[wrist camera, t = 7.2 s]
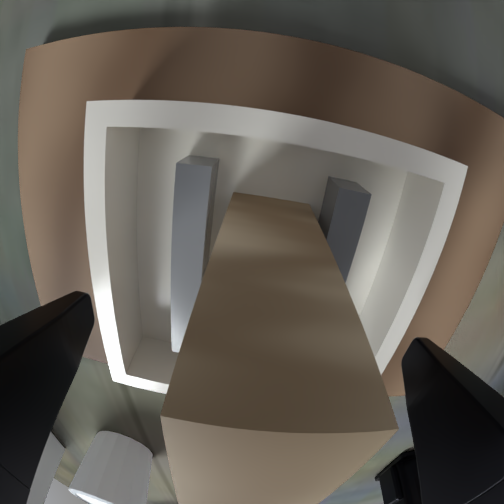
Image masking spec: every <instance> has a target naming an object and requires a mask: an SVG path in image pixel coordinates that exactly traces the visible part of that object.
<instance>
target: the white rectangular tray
mask: <svg viewBox="0 0 504 504" xmlns="http://www.w3.org/2000/svg"><path fill="white" fill-rule="evenodd" d="M467 169H468V166H466V165H464V164H461V163H459V162H457V161H454V160H452V159H449V158H446V157H444V156H441V155H439V154H436V153H433V152H430V151H428V150H425V149H422V148H419V147H416V146H413V145H410V144H407V143H404V142H401V141H398V140H395V139H391V138H388V137H385V136H381V135H378V134H375V133H371V132H367V131H364V130H360V129H356V128H352V127H348V126H344V125H340V124H336V123H332V122H327V121H323V120H318V119H313V118H308V117H303V116H298V115H293V114H287V113H282V112H276V111H269V110H263V109H256V108H249V107H241V106H232V105H223V104H213V103H201V102H187V101H168V100H102V101H87V103H86V116H85V133H84V204H85V221H86V234H87V245H88V255H89V263H90V271H91V278H92V285H93V292H94V298H95V304H96V309H97V315H98V320H99V325H100V330H101V335H102V339H103V344H104V348H105V352H106V356H107V360H108V364H109V368H110V372H111V376H112V379H113V381H115V382H119V383H122V384H126V385H130V386H134V387H138V388H142V389H146V390H150V391H155V392H159V393H164V394H167V390H168V387H169V384H170V380H171V377H172V374H173V370H174V367H175V364H176V360H177V357H178V354H179V351H180V347H181V344H182V341H183V338H184V335H185V332H186V328H187V325H188V322H189V319H190V316H191V313H192V310H193V307H194V304H195V301H196V298H197V295H198V292H199V289H200V286H201V283H202V280H203V277H204V274H205V271H206V268H207V265H208V262H209V259H210V256H211V253H212V250H213V247H214V245H215V242H216V239H217V236H218V233H219V230H220V228H221V225H222V222H223V219H224V216H225V214H226V211H227V208H228V205H229V203H230V200H231V197H232V194H233V192H238V193H245V194H251V195H258V196H264V197H271V198H277V199H283V200H289V201H295V202H301V203H307V204H310V206H311V209H312V211H313V213H314V215H315V217H316V219H317V221H318V223H319V225H320V228H321V230H322V232H323V234H324V236H325V238H326V241H327V243H328V245H329V247H330V249H331V252H332V254H333V256H334V258H335V261H336V263H337V265H338V267H339V270H340V272H341V274H342V277H343V279H344V281H345V284H346V286H347V288H348V291H349V293H350V296H351V298H352V300H353V303H354V305H355V308H356V310H357V313H358V315H359V318H360V320H361V323H362V325H363V328H364V331H365V333H366V336H367V338H368V341H369V344H370V346H371V349H372V352H373V354H374V357H375V360H376V362H377V365H378V368H379V371H380V374H382V373H383V371H384V370H385V368H386V366H387V364H388V363H389V361H390V359H391V358H392V356H393V354H394V352H395V350H396V349H397V347H398V345H399V343H400V341H401V339H402V338H403V336H404V334H405V332H406V330H407V328H408V326H409V324H410V322H411V320H412V318H413V316H414V314H415V312H416V310H417V308H418V306H419V304H420V302H421V299H422V297H423V295H424V293H425V291H426V288H427V286H428V284H429V281H430V279H431V277H432V274H433V272H434V270H435V267H436V265H437V262H438V260H439V257H440V254H441V252H442V249H443V247H444V244H445V241H446V238H447V236H448V233H449V230H450V227H451V224H452V221H453V218H454V215H455V212H456V208H457V205H458V202H459V198H460V195H461V191H462V188H463V184H464V180H465V177H466V173H467Z"/></svg>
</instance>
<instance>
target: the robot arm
mask: <svg viewBox="0 0 504 504" xmlns="http://www.w3.org/2000/svg"><path fill="white" fill-rule="evenodd" d="M94 322H95V317H94V311H93V306H92V300H91V296H90V295H89V294H88V293H86V292H81V291H74V292H71V293H69V294H67V295H65V296H63V297H60V298H58V299H56V300H54V301H52V302H49V303H47V304H45V305H43V306H41V307H38V308H36V309H34V310H32V311H30V312H28V313H26V314H23V315H21V316H19V317H17V318H15V319H13V320H11V321H9V322H7V323H4V324H2V325H0V504H27V500H28V497H29V493H30V489H31V486H32V483H33V480H34V477H35V474H36V471H37V468H38V465H39V462H40V459H41V456H42V453H43V451H44V448H45V445H46V443H47V440H48V437H49V435H50V432H51V430H52V427H53V425H54V422H55V420H56V417H57V415H58V413H59V410H60V408H61V406H62V403H63V401H64V399H65V396H66V394H67V392H68V390H69V387H70V385H71V383H72V381H73V379H74V377H75V374H76V372H77V370H78V367H79V364H80V362H81V359H82V356H83V353H84V350H85V348H86V345H87V342H88V339H89V337H90V334H91V332H92V329H93V326H94ZM401 367H402V374H403V381H404V389H405V397H406V405H407V411H408V417H409V422H410V427H411V432H412V437H413V443H414V448H415V451H412V452H406V453H403V454H401V455H400V456H399V457H398V458H397V459H396V460H394V461H393V462H392V463H391V464H390V465H389V466H388V467H386V468H385V469H384V470H383V471H382V472H381V473H379V474H378V475H377V476H376V477H375V481H380V485H381V490H382V495H383V501H384V504H504V397H503V396H501V395H500V394H499V393H498V392H496V391H495V390H494V389H493V388H491V387H490V386H489V385H488V384H486V383H485V382H484V381H483V380H481V379H480V378H479V377H478V376H476V375H475V374H474V373H473V372H471V371H470V370H469V369H467V368H466V367H465V366H464V365H462V364H461V363H460V362H459V361H457V360H456V359H455V358H453V357H452V356H451V355H449V354H448V353H447V352H446V351H444V350H443V349H442V348H440V347H439V346H438V345H436V344H435V343H434V342H432V341H431V340H430V339H428V338H426V337H416V338H414V339H413V340H412V342H411V343H410V345H409V347H408V349H407V351H406V352H405V354H404V356H403V358H402V362H401Z"/></svg>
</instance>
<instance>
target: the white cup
mask: <svg viewBox="0 0 504 504" xmlns="http://www.w3.org/2000/svg"><path fill="white" fill-rule="evenodd" d="M152 456H153V454H152V453H151V451H150V450H149V449H148V448H147V447H146V446H144V445H143V444H142V443H140V442H138V441H136V440H134V439H132V438H130V437H127V436H124V435H122V434H119V433H115V432H111V431H100V432H98V433H97V434H96V436H95V437H94V439H93V441H92V443H91V445H90V447H89V449H88V451H87V453H86V455H85V457H84V458H83V460H82V462H81V464H80V466H79V468H78V470H77V472H76V474H75V476H74V478H73V480H72V482H71V484H70V486H69V488H68V490H69V491H70V492H71V493H72V494H74V495H75V496H77V497H78V498H80V499H81V500H83V501H85V502H87V503H88V504H146V503H147V494H148V486H149V478H150V470H151V463H152Z"/></svg>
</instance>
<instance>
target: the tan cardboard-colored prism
mask: <svg viewBox="0 0 504 504" xmlns="http://www.w3.org/2000/svg"><path fill="white" fill-rule="evenodd" d="M160 417H161V424H162V429H163V435H164V441H165V446H166V451H167V456H168V461H169V466H170V470H171V475H172V479H173V484H174V488H175V492H176V496H177V500H178V504H318V503H320V502H321V501H322V500H324V499H325V498H326V497H327V496H329V495H330V494H331V493H332V492H334V491H335V490H336V489H337V488H338V487H340V486H341V485H342V484H343V483H344V482H345V481H347V480H348V479H349V478H350V477H351V476H352V475H353V474H355V473H356V472H357V471H358V470H359V469H360V468H361V467H362V466H363V465H364V464H365V463H366V462H367V461H368V460H370V459H371V458H372V457H373V456H374V455H375V454H376V453H377V452H378V451H379V450H380V449H381V448H382V447H383V446H384V444H385V443H386V442H387V441H388V440H389V439H390V438H391V437H392V436H393V435H394V434H395V433H396V432H397V431H398V429H399V428H398V425H397V422H396V419H395V415H394V412H393V409H392V406H391V403H390V400H389V397H388V394H387V391H386V388H385V385H384V382H383V379H382V377H381V374H380V371H379V368H378V365H377V362H376V360H375V357H374V354H373V352H372V349H371V346H370V344H369V341H368V338H367V336H366V333H365V331H364V328H363V325H362V323H361V320H360V318H359V315H358V313H357V310H356V308H355V305H354V303H353V300H352V298H351V296H350V293H349V291H348V288H347V286H346V284H345V281H344V279H343V277H342V274H341V272H340V270H339V267H338V265H337V263H336V261H335V258H334V256H333V254H332V252H331V249H330V247H329V245H328V243H327V241H326V238H325V236H324V234H323V232H322V230H321V228H320V225H319V223H318V221H317V219H316V217H315V215H314V213H313V211H312V209H311V206H310V204H307V203H301V202H295V201H289V200H283V199H277V198H271V197H264V196H258V195H251V194H245V193H238V192H233V194H232V197H231V200H230V203H229V205H228V208H227V211H226V214H225V216H224V219H223V222H222V225H221V228H220V230H219V233H218V236H217V239H216V242H215V245H214V247H213V250H212V253H211V256H210V259H209V262H208V265H207V268H206V271H205V274H204V277H203V280H202V283H201V286H200V289H199V292H198V295H197V298H196V301H195V304H194V307H193V310H192V313H191V316H190V319H189V322H188V325H187V328H186V332H185V335H184V338H183V341H182V344H181V347H180V351H179V354H178V357H177V360H176V364H175V367H174V370H173V374H172V377H171V380H170V384H169V387H168V390H167V394H166V397H165V401H164V404H163V408H162V411H161V415H160Z"/></svg>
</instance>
